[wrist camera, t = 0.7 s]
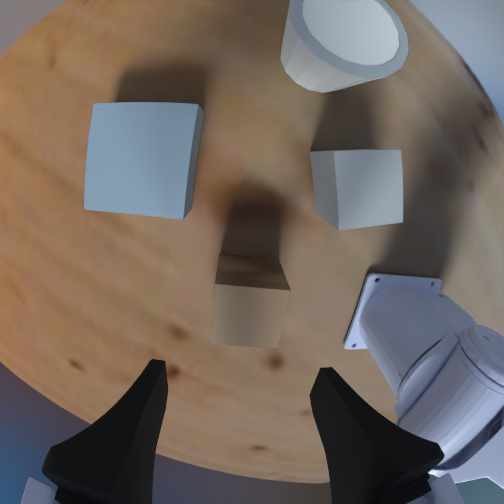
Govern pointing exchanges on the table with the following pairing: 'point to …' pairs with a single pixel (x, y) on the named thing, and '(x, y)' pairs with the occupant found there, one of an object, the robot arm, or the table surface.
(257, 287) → the walnut cube
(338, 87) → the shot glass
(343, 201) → the grey cube
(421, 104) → the table surface
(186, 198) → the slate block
